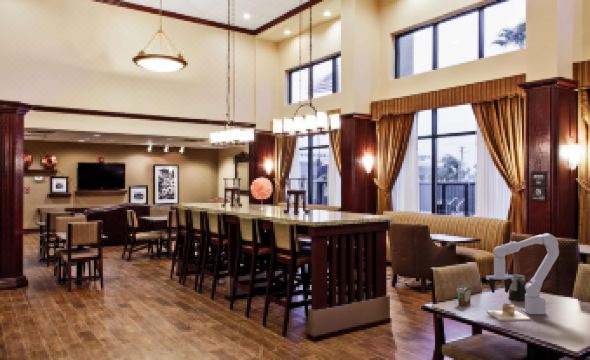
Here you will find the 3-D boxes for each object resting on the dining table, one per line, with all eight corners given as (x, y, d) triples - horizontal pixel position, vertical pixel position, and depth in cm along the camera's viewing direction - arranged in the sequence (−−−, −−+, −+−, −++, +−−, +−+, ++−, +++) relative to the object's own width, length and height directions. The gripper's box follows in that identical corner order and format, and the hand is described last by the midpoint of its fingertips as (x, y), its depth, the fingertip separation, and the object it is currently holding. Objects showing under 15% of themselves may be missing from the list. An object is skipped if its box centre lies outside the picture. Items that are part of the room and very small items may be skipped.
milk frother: (504, 298, 263) (504, 274, 263) (525, 296, 268) (525, 272, 268) (522, 304, 250) (522, 279, 250) (544, 302, 254) (544, 277, 254)
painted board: (516, 312, 234) (516, 310, 234) (530, 320, 220) (530, 318, 220) (487, 312, 234) (487, 310, 234) (499, 320, 220) (499, 318, 220)
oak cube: (514, 314, 227) (514, 304, 227) (513, 316, 223) (512, 307, 223) (504, 312, 230) (504, 303, 230) (502, 314, 226) (502, 305, 226)
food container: (460, 301, 256) (460, 284, 256) (471, 303, 252) (471, 286, 253) (453, 305, 247) (453, 288, 247) (464, 307, 243) (464, 290, 243)
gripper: (508, 266, 244) (508, 290, 244) (483, 266, 244) (483, 290, 244) (515, 269, 237) (515, 293, 237) (489, 269, 237) (489, 293, 237)
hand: (499, 292), depth 240 cm, fingers open, 7 cm apart
